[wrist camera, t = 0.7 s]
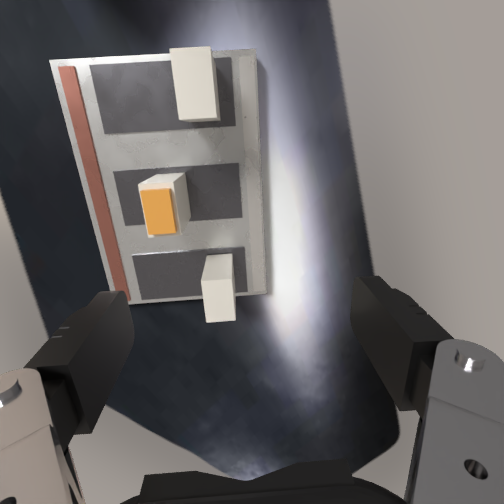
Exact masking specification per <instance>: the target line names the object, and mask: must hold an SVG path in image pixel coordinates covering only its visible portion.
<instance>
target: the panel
mask: <svg viewBox="0 0 504 504" xmlns="http://www.w3.org/2000/svg"><path fill="white" fill-rule="evenodd" d="M212 54H213V58H214V61H215V65H216V75H217V86H218V97H219V109H220V121H204V122H187V121H182V120H179V116H178V109H177V101H176V94H175V87H174V79H173V72H172V65H171V57H170V54H152V55H133V56H115V57H97V58H79V59H61V60H49V61H50V65H51V69H52V72H53V76H54V80H55V84H56V88H57V91H58V95H59V99H60V103H61V106H62V110H63V114H64V118H65V121H66V125H67V129H68V133H69V137H70V140H71V144H72V148H73V152H74V155H75V159H76V163H77V167H78V171H79V174H80V178H81V182H82V186H83V189H84V193H85V197H86V201H87V204H88V208H89V212H90V216H91V220H92V223H93V227H94V231H95V235H96V238H97V242H98V246H99V250H100V253H101V257H102V261H103V265H104V269H105V272H106V276H107V280H108V284H109V287H110V291H121V290H122V291H124V292H125V294H126V296H127V300H128V304H140V303H153V302H166V301H179V300H192V299H203V293H202V286H201V279H202V274H203V270H204V266H205V261H206V257H207V255H219V254H232V255H233V267H234V278H235V289H236V296H244V295H257V294H267V284H266V262H265V240H264V217H263V195H262V173H261V150H260V128H259V105H258V83H257V61H256V49H243V50H224V51H212ZM184 172H185V175H186V182H187V189H188V197H189V204H190V211H191V218H190V220H189V222H188V224H187V225H186V227H185V229H184V231H183V233H182V235H179V236H165V237H151V238H148V234H147V229H146V224H145V219H144V213H143V208H142V203H141V198H140V193H139V188H138V184H139V183H141V182H143V181H145V180H147V179H149V178H151V177H152V176H154V175H156V174H168V173H184Z"/></svg>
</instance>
